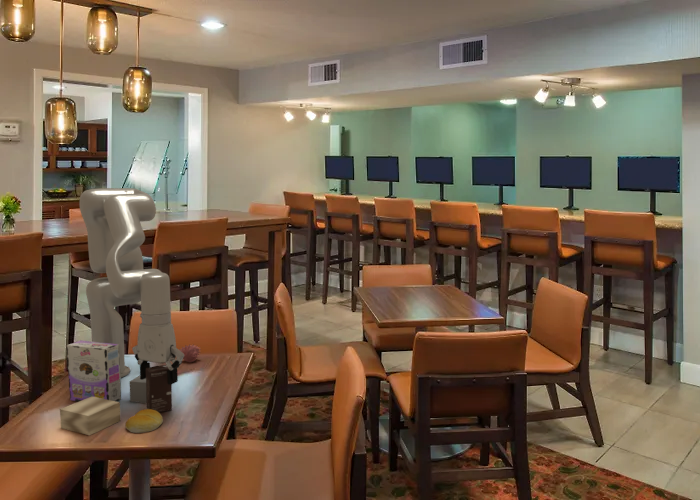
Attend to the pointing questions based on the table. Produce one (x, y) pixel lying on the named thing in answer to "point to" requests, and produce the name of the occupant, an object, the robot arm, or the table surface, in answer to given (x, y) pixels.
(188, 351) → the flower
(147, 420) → the bread roll
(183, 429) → the table surface
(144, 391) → the grey cube
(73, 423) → the base block
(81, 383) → the candy box
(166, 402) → the box
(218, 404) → the table surface
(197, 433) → the table surface
